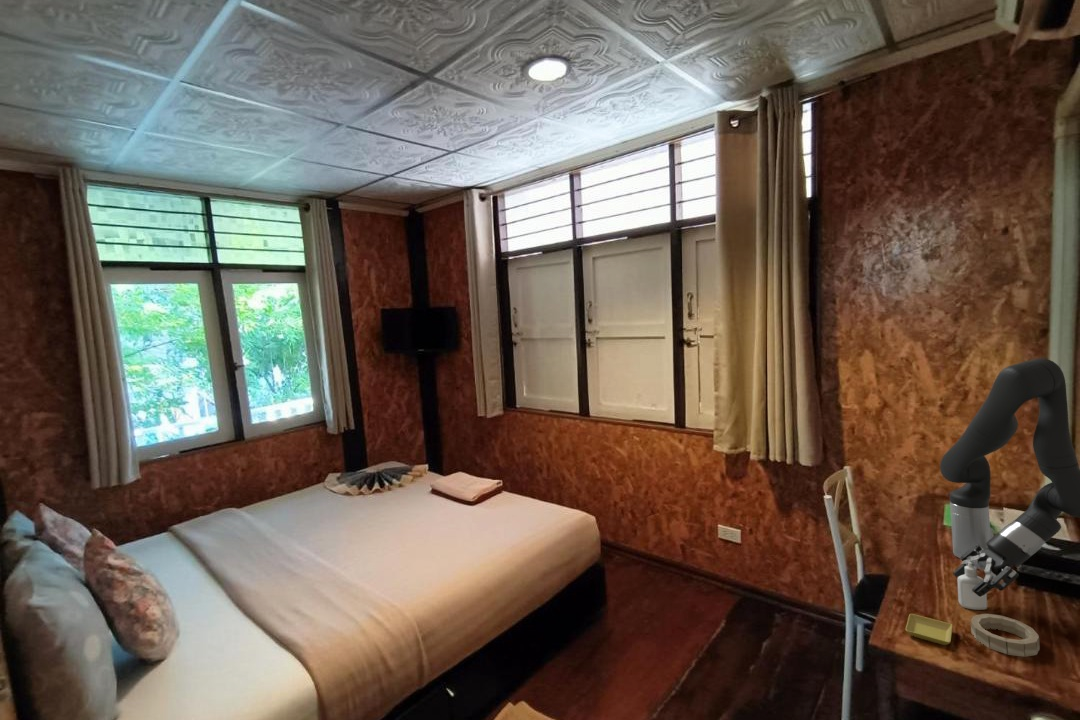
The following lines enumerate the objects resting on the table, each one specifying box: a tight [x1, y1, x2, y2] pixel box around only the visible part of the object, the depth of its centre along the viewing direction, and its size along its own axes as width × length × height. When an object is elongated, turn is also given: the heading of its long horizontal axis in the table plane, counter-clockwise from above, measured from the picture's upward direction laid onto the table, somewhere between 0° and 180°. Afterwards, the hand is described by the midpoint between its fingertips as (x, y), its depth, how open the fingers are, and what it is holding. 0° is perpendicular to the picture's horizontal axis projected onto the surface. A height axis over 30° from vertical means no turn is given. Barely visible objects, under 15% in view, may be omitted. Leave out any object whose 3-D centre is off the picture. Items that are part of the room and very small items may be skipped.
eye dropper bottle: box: [956, 562, 988, 611], centre depth 128 cm, size 4×6×12 cm
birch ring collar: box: [970, 613, 1041, 658], centre depth 115 cm, size 11×11×3 cm
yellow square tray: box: [904, 613, 954, 646], centre depth 120 cm, size 9×9×2 cm
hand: (965, 584), depth 128 cm, fingers open, 8 cm apart
